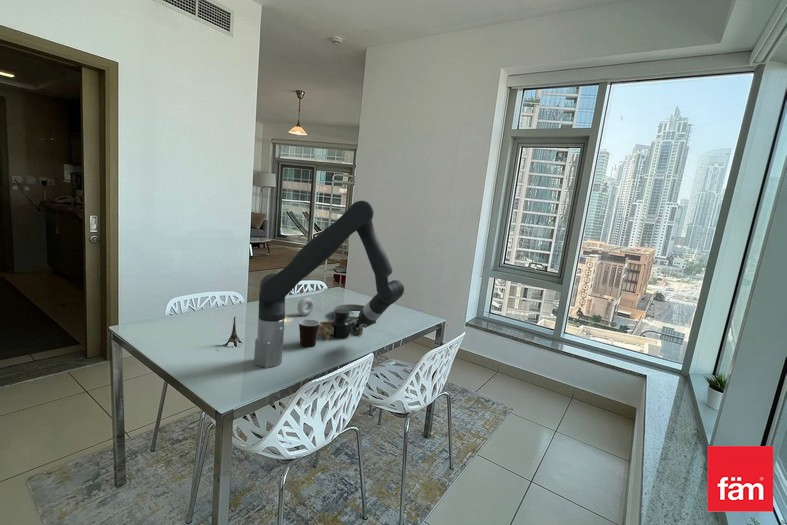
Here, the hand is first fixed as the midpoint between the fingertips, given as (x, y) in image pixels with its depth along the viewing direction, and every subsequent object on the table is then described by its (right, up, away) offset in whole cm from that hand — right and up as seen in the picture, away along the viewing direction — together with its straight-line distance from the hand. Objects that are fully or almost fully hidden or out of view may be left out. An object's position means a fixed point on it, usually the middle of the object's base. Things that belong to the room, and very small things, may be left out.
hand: (354, 330), depth 165 cm
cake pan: (-4, -1, +40) cm, 41 cm away
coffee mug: (-19, -5, -3) cm, 20 cm away
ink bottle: (-8, -5, +10) cm, 14 cm away
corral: (-9, -4, +13) cm, 16 cm away
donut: (-30, +1, +34) cm, 46 cm away
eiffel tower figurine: (-48, -4, -12) cm, 50 cm away
